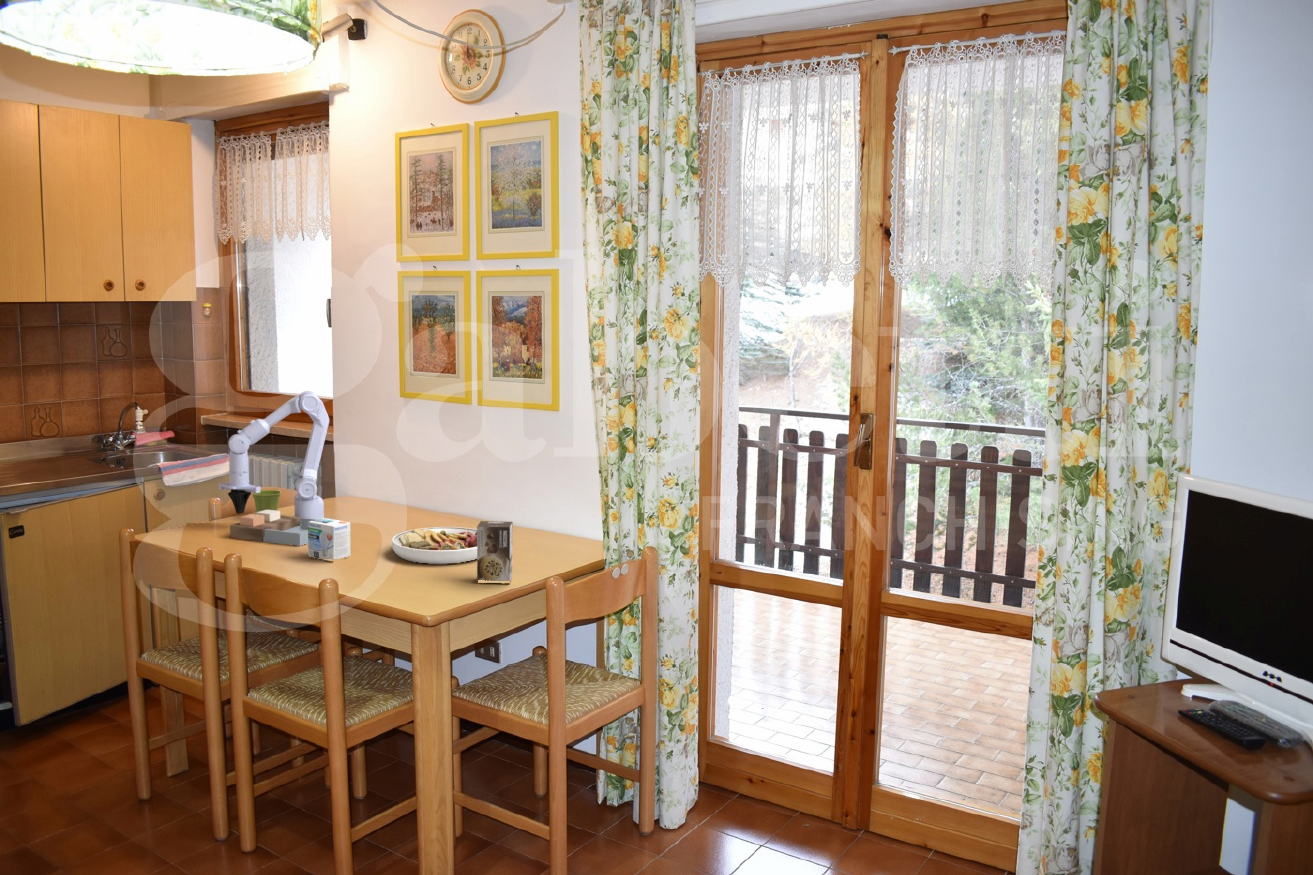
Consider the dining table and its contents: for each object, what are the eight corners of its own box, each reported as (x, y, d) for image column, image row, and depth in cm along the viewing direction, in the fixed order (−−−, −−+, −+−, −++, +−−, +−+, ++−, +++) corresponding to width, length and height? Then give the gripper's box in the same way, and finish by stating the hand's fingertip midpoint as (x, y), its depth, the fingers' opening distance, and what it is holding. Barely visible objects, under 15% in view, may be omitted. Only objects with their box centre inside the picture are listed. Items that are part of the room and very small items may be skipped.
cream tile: (267, 517, 306) (267, 509, 305) (280, 518, 304) (280, 510, 304) (256, 520, 301) (256, 512, 300) (269, 521, 299) (269, 514, 299)
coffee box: (512, 578, 262) (513, 521, 259) (509, 584, 255) (510, 526, 253) (479, 577, 261) (480, 520, 259) (476, 584, 255) (476, 525, 253)
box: (301, 529, 307) (301, 517, 307) (336, 533, 303) (336, 521, 303) (263, 541, 290) (263, 529, 289) (299, 546, 286) (299, 533, 286)
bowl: (391, 569, 267) (391, 542, 266) (391, 543, 295) (391, 518, 294) (498, 565, 275) (498, 539, 274) (488, 540, 303) (489, 516, 302)
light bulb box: (307, 557, 275) (306, 521, 273) (325, 552, 281) (324, 517, 279) (334, 563, 270) (333, 526, 268) (351, 558, 276) (351, 522, 274)
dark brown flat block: (269, 525, 311) (269, 513, 310) (300, 529, 307) (300, 517, 307) (230, 537, 293) (229, 525, 293) (262, 541, 290) (262, 529, 290)
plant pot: (253, 514, 326) (253, 489, 324) (282, 513, 328) (282, 489, 327) (250, 520, 317) (250, 495, 316) (280, 519, 320) (280, 494, 318)
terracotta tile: (251, 521, 298) (250, 513, 298) (264, 523, 297) (264, 515, 297) (239, 525, 294) (239, 517, 293) (253, 526, 292) (253, 518, 292)
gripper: (211, 471, 302) (212, 513, 304) (249, 475, 298) (250, 517, 300) (227, 468, 309) (228, 509, 310) (264, 472, 304) (265, 513, 306)
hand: (240, 513), depth 305 cm, fingers closed
